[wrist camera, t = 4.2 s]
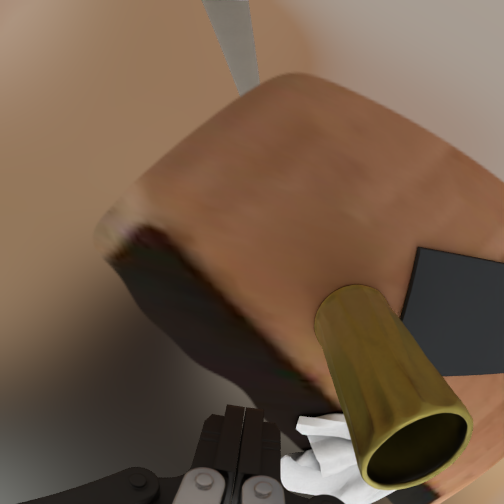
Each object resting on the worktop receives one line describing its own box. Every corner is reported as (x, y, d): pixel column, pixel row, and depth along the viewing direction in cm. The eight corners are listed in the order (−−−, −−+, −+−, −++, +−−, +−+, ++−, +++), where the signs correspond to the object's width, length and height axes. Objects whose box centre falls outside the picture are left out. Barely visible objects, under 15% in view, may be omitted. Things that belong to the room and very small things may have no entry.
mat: (417, 246, 22) (421, 248, 21) (540, 270, 22) (543, 272, 21) (382, 372, 24) (384, 376, 24) (506, 370, 24) (509, 372, 23)
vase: (390, 345, 24) (467, 470, 10) (318, 362, 24) (349, 508, 10) (386, 276, 23) (495, 376, 9) (308, 292, 23) (347, 425, 9)
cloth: (467, 449, 26) (475, 461, 24) (314, 523, 30) (315, 537, 28) (427, 339, 24) (439, 352, 21) (219, 448, 27) (216, 465, 25)
